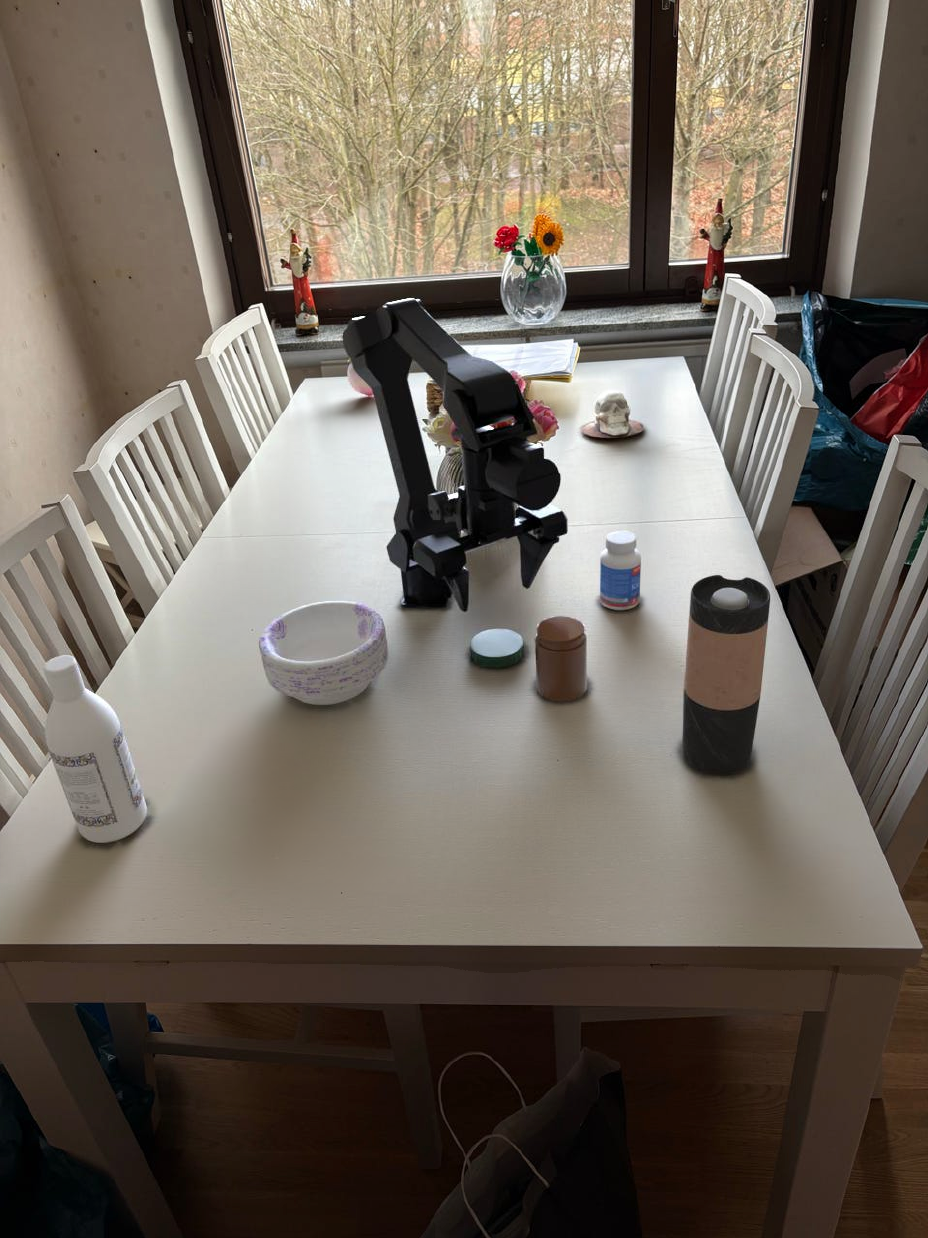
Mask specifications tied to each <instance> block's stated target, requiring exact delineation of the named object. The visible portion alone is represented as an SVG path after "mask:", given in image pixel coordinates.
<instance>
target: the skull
mask: <svg viewBox="0 0 928 1238" xmlns="http://www.w3.org/2000/svg"><path fill="white" fill-rule="evenodd" d="M594 415H595V421H593V422H590V423H587V424H586V425H583V427H582V428H581V432H582V433H583V434H585V435H586V436H589V437H593V438H602V439H605V438H606V439H621V438H627V437H631V436H634V435H638V434H640V433H642V432H643V431H644V430H645V426H644V425H643V424H642V423H641V422H637V421H634V420H630V417H629V416H630V415H631V408H630V406H629V405H628V401H627V399H626V398H625V395H624V393H622V392H621V391H619V390H614V389H613V390H612V389H611V390H607V391H605V392H603V393H602V394H600V395H599V396H598V398H597V399H596V401H595V403H594Z"/></svg>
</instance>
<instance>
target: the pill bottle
mask: <svg viewBox="0 0 928 1238" xmlns="http://www.w3.org/2000/svg"><path fill="white" fill-rule="evenodd" d="M599 557H600V563H599V565H600V567H599V569H600V571H599V602H600V603H601V605H602V606H604V607H605V608H608V609H610V610H614V611H625V610H630V609H633V608H635V607H636V606H637V605H638V604H639V603H640V597H641V573H642V571H641V570H642V569H641V568H642V556H641V553H640V551H639V550H638V549H637V536H636V534H635V533H633V532H631V531H627V530H617V531H613V532H609V533H608V534H607V535H606V537H605V549H604V550H602V551H601V553H600V556H599Z"/></svg>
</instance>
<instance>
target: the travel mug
mask: <svg viewBox="0 0 928 1238" xmlns="http://www.w3.org/2000/svg"><path fill="white" fill-rule="evenodd" d="M770 607H771V593H770V590H769V588H768V587H767V586H766V585H765V584H764V583H762V582H760V581H758V580H756V579H754V578H752V577H747V576H745V577H744V578H742V579H729V578H726V577H724V576H723V575H721V574H713V575H708V576H706V577H703V578H701V579H699V580H697V581H696V582H695V583H694V584H693V585H692V587H691V590H690V598H689V611H688V612H689V613H688V627H687V640H686V650H685V652H686V653H685V667H684V678H683V702H682V706H683V708H682V755H683V758H684V760H685V762H687V764H688V765H689V766H691V767H692V768H694V769H695V770H697V771H699V772H701V773H704V774H707V775H712V776H729V775H734V774H737V773H739V772H741V771H743V770H745V769H746V768H747V766H748V765H749V764H750V761H751V757H752V751H753V745H754V741H755V740H754V738H755V734H756V726H757V720H758V714H759V707H760V702H761V701H760V700H761V694H762V686H763V676H764V675H763V674H764V665H765V655H766V646H767V635H768V625H769V616H770Z"/></svg>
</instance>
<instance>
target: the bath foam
mask: <svg viewBox="0 0 928 1238" xmlns="http://www.w3.org/2000/svg"><path fill="white" fill-rule="evenodd" d="M43 672H44V675H45V679H46V680H47V683H48V686H49V689H50V691H51V694H52V696H53V697H52V698H53V700H52V702H51V704H50V707H49V710H48V712H47V715H46V718H45V723H44V737H45V744H46V747H47V750H48V753H49V756H50V758H51V761H52V763H53V767H54V769H55V772H56V774H57V777H58V779H59V782H60V785H61V788H62V790H63V793H64V795H65V798H66V801H67V804H68V806H69V809H70V811H71V814H72V816H73V819H74V821H75V824H76V827H77V829H78V832H79V833H80V835H81V836H82V837H83V838H84V839H85V840H87V841H89V842H92V843H97V844H107V843H112V842H116V841H120V840H122V839H125V838H126V837H128V836H130V835H131V834H133V833H134V832H136V831H137V830H138V829H139V828H140V827H141V825H142V824H143V823H144V822H145V819H146V818H147V814H148V807H147V804H146V799H145V797H144V795H143V794H144V793H143V790H142V787H141V783H140V782H139V781H140V780H139V778H138V774H137V772H136V769H135V765H134V761H133V759H132V756H131V753H130V750H129V746H128V743H127V740H126V738H125V737H126V736H125V734H124V731H123V728H122V725H121V722H120V720H119V717H118V716H117V714H116V713H115V712H116V711H115V710H114V709H113V708H112V707H111V705H110V704H109V703H108V702H107V701H106V700H105V699H104V698H102V697H101V696H99V695H98V694H96V693H94V692H92V691H90V689H88V688H86V687H85V682H84V680H83V677H82V674H81V671H80V668H79V665H78V662H77V660H76V658H75V657H74V656H73V655H69V654H68V655H67V654H66V655H65V654H63V655H58V656H55V657H53V658H51V659H49V660H48V661H46V662H45V663H44V665H43Z"/></svg>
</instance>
